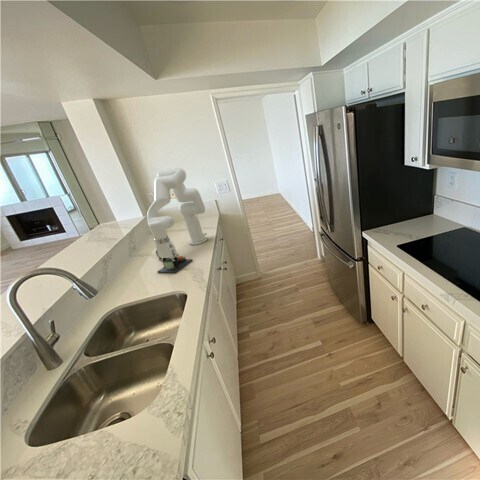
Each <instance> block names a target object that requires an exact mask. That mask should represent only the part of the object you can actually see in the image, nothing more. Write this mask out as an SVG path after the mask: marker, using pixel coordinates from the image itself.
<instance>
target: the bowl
mask: <svg viewBox="0 0 480 480" xmlns="http://www.w3.org/2000/svg"><path fill="white" fill-rule="evenodd" d="M164 264H165V267H166V269H174V268H176V267H174V264H173V260H172V259H171V258H169V259H166V260H165V261H164ZM164 264H163V265H164Z"/></svg>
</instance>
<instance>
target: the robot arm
mask: <svg viewBox="0 0 480 480" xmlns="http://www.w3.org/2000/svg"><path fill="white" fill-rule="evenodd" d="M156 175H157V177H155V179H154V183H153V184H154V200H153V202H152V203H151V205H150V206H149V208H148V210H147V213H146V217H147V218H146V220H147V226H148V227H149V230H150V233H151V236H152V237H153V240H154V244H155V250H157V252H158V254H156V258H158V259H159V260H160V261H161V262H162V264H163V267H165V264H164V261H165V260H166V258H171V259H172V260H173V264H174V267H177V266H178V265H179V263H178V261H177V259H178V257H179V256H180V253H178V252H177V249H176V247H175V245H174V244H173V242H172V241H171V240H170V237H169V235H168V232H167V230H168V229H171V228H172V227H173V226H174V225H175V219H174V218H173V217H172V216H170V215H163V216H157V214H158V212H159V211H160V210H161V209H162V208H164V207H165V206H167V205H168V204H170V203H171V190H172V192H173V194H174V197H175V198H176V200H177V202H178V203H181V204H180V205H179V207H178V208H179V209H178V210H179V213H180V215H181V216H182V218H183V221H184V223H185V226H186V229H187V233H188V235H189V238H190V241H189V245H191V246H195V245H200V244H203V243H205V242H206V241H207V239H208V238H207V237H206V236H207V234H208V233H207V232H204V233H203V230H202V225H201V224H200V219H199V218H198V217H197V216H196V215H203V214H204V213H205V211H206V207H205V203H204V201H203V199H202V196H201V193H200V192H199V190H198V189H197V188H195V187H191V188H190V187H189V188H187V187H186V186H185V184H184V182H185V181H186V179H187V173H186V171H185V169H184V168H181V167H177V168H168V169H167V168H166V169H161V170H159V171H157V174H156Z"/></svg>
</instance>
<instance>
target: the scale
mask: <svg viewBox="0 0 480 480" xmlns="http://www.w3.org/2000/svg"><path fill="white" fill-rule="evenodd" d="M182 258H183V259H181V260H178V259H177V261H178V263H179V265H178V266H177V267H176V268H174V269H166V267H164V266H163V267H161V268H160V269H159V270H158V271H157V274H177V273H179V272H180V271H182V269H184V268H185V267H186V266H188V265H189V264H191V263H192V262H193V259H192V258H191V259H189V258H186V257H185V256H182Z"/></svg>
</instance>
